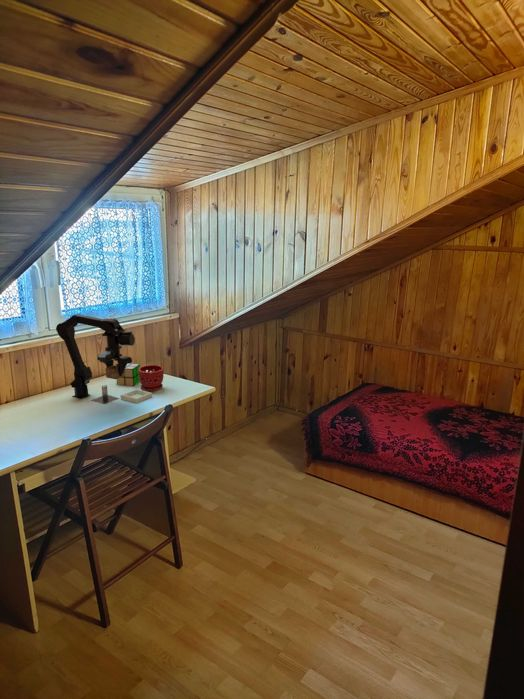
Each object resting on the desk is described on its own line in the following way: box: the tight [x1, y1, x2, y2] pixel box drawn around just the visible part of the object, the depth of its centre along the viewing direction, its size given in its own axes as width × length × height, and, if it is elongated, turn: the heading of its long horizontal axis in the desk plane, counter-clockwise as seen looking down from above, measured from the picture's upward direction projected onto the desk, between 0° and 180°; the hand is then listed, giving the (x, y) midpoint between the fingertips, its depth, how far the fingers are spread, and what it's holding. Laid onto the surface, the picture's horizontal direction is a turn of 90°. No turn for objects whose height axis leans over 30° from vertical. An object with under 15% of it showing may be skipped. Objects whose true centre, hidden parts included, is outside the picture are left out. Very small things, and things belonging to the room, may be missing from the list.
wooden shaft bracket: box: [105, 364, 125, 380], centre depth 231 cm, size 6×6×5 cm
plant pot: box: [138, 364, 165, 393], centre depth 250 cm, size 13×13×12 cm
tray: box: [120, 388, 153, 404], centre depth 237 cm, size 11×11×2 cm
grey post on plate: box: [90, 384, 121, 405], centre depth 233 cm, size 10×10×7 cm
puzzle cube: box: [116, 363, 141, 387], centre depth 259 cm, size 10×10×10 cm
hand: (115, 375), depth 232 cm, fingers closed on wooden shaft bracket, 6 cm apart
